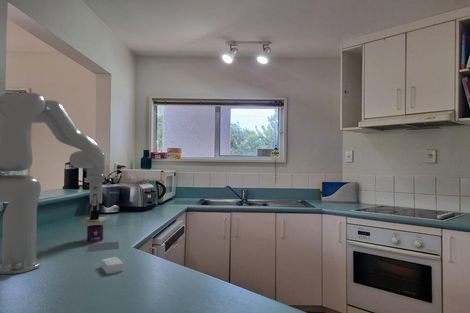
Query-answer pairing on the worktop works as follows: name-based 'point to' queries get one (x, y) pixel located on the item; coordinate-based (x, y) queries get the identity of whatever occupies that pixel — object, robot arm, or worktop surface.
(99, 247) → the mat
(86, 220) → the lid
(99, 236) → the mug
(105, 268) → the soap
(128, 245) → the worktop surface
